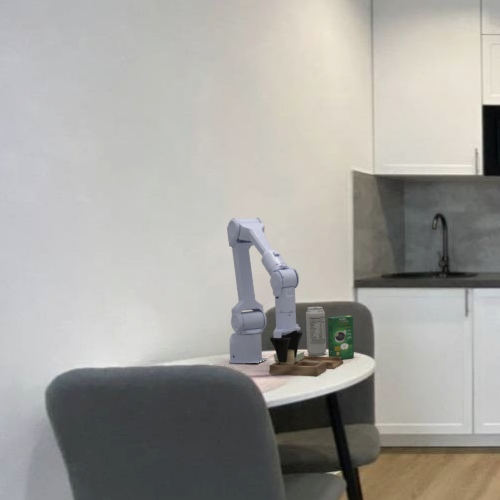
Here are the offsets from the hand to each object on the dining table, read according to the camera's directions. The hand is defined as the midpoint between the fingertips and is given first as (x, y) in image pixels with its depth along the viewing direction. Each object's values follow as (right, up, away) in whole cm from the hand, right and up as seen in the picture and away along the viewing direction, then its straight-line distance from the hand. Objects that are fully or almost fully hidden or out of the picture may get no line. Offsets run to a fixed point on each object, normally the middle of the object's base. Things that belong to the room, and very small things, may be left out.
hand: (287, 359), depth 204 cm
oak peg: (0, -3, 0) cm, 3 cm away
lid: (+1, -2, +12) cm, 12 cm away
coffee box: (+17, -3, +16) cm, 24 cm away
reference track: (+7, -3, +9) cm, 12 cm away
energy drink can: (+11, -3, +26) cm, 28 cm away
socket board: (+3, -3, -1) cm, 5 cm away
